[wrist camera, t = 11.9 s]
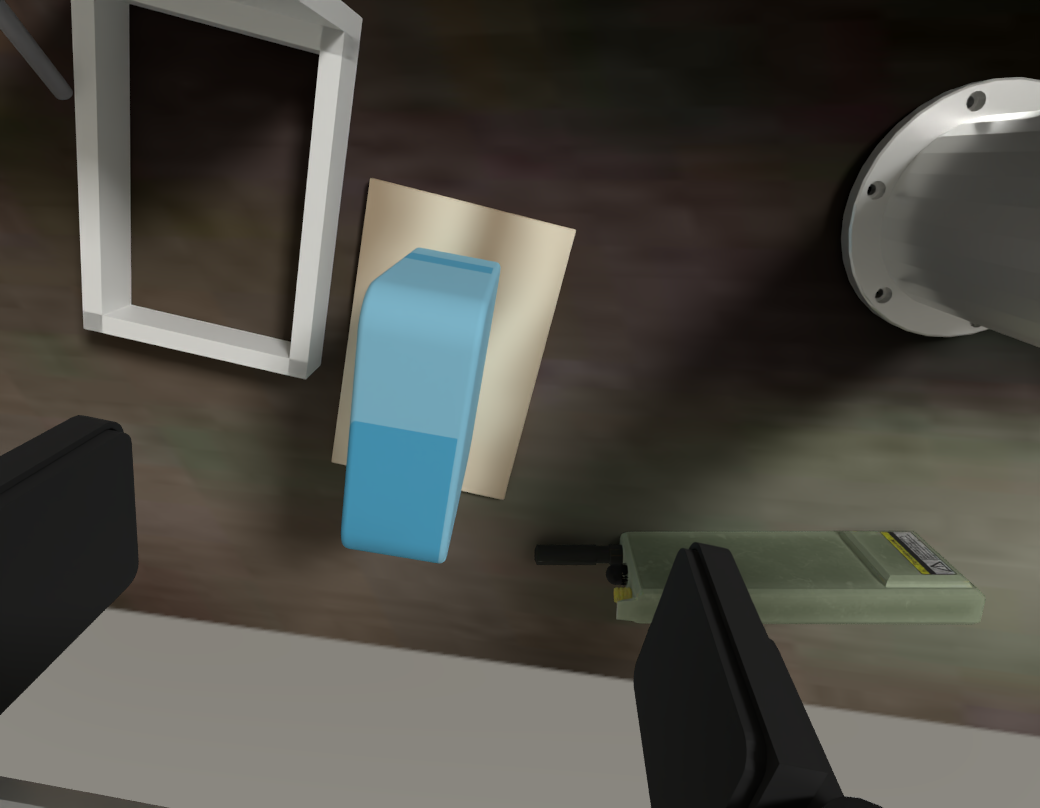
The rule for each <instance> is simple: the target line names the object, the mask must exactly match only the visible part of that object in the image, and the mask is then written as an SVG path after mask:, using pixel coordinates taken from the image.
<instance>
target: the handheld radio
mask: <svg viewBox="0 0 1040 808" xmlns="http://www.w3.org/2000/svg"><path fill="white" fill-rule="evenodd" d="M694 542H699V543H704V544H709V545H713V546H718V547H723V548H727V549H729V550H730V552H731V553H732V555H733V558H734V560H735V562H736V565H737V567H738V569H739V571H740V574H741V576H742V578H743V581H744V583H745V585H746V587H747V590H748V592H749V594H750V596H751V599H752V601H753V603H754V606H755V608H756V610H757V612H758V615H759V617H760V619H761V622H762V624H975V623H979V622H980V620H981V616H982V612H983V608H984V604H985V600H986V599H985V596H984V595H983V594H982V593H981V592H980V591H979V590H978V589H977V588H976V587H975V586H974V585H973V584H972V583H971V582H970V581H968V580H967V579H966V578H965V577H964V576H963V575H962V574H961V573H960V572H958V571H957V570H956V569H955V568H954V567H953V566H952V565H951V564H950V563H949V562H947V561H946V560H945V559H944V558H943V557H942V556H941V555H940V554H939V553H938V552H936V551H935V550H934V549H933V548H932V547H931V546H930V545H929V544H928V543H926V542H925V541H924V540H923V539H922V538H921V537H920V536H919V535H918V534H917V533H915V532H914V531H778V532H625V533H623V534H622V535H621V537H620V544H609V546H596V545H536V548H535V561H536V564H537V565H596V563H609V564H610V566H609V567H608V568H607V571H606V577H607V579H608V581H609V582H610V583H611V584H615V585H626V587H624V588H622V587H620V588H618V587H616V588H614V602H616V603H617V611H616V619H618V620H627V621H634V622H636V623H651V622H652V619H653V617H654V614H655V611H656V609H657V606H658V603H659V601H660V598H661V595H662V593H663V590H664V587H665V584H666V582H667V579H668V576H669V574H670V571H671V568H672V566H673V563H674V560H675V558H676V555H677V553H678V551H679V550H680V549H681V548H686V549H689V547H690V546H691V544H692V543H694ZM622 573H623V574H622ZM622 575H623V576H622ZM622 578H624V579H622ZM622 582H623V583H622ZM624 582H625V583H624Z"/></svg>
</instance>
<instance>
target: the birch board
mask: <svg viewBox="0 0 1040 808" xmlns="http://www.w3.org/2000/svg"><path fill="white" fill-rule="evenodd" d="M575 232H576V230H575V229H571V228H567V227H563V226H559V225H555V224H551V223H547V222H543V221H539V220H535V219H531V218H528V217H524V216H520V215H516V214H512V213H508V212H504V211H500V210H496V209H492V208H488V207H484V206H480V205H476V204H473V203H469V202H465V201H461V200H457V199H453V198H449V197H445V196H441V195H437V194H433V193H429V192H425V191H421V190H418V189H414V188H410V187H406V186H402V185H398V184H394V183H390V182H386V181H382V180H378V179H374V178H370V183H369V191H368V198H367V205H366V213H365V220H364V227H363V235H362V242H361V249H360V256H359V264H358V271H357V278H356V286H355V293H354V300H353V308H352V315H351V322H350V330H349V337H348V344H347V352H346V359H345V366H344V374H343V381H342V388H341V396H340V403H339V410H338V418H337V425H336V432H335V440H334V447H333V454H332V462H333V463H338V464H342V465H346V464H347V452H348V440H349V428H350V416H351V404H352V392H353V380H354V368H355V356H356V344H357V332H358V323H359V316H360V311H361V307H362V303H363V299H364V296H365V293H366V291H367V289H368V287H369V285H370V284H371V282H372V281H373V280H375V279H376V278H377V277H379V276H380V275H381V274H383V273H384V272H385V271H387V270H388V269H389V268H391V267H392V266H393V265H395V264H396V263H397V262H399V261H400V260H401V259H403V258H404V257H405V256H407V255H408V254H409V253H411V252H412V251H413V250H414V249H416V248H425V249H430V250H436V251H441V252H446V253H451V254H457V255H462V256H467V257H472V258H478V259H483V260H488V261H493V262H497V263H499V264H500V267H501V269H500V276H499V283H498V289H497V295H496V300H495V306H494V312H493V318H492V324H491V330H490V336H489V342H488V347H487V353H486V359H485V365H484V371H483V377H482V383H481V389H480V394H479V400H478V406H477V412H476V418H475V424H474V430H473V436H472V441H471V447H470V452H469V457H468V462H467V467H466V471H465V476H464V480H463V485H462V489H461V491H465V492H470V493H474V494H479V495H483V496H488V497H492V498H497V499H501V500H504V497H505V493H506V489H507V486H508V482H509V478H510V474H511V471H512V467H513V463H514V459H515V456H516V452H517V448H518V445H519V441H520V437H521V433H522V430H523V426H524V422H525V418H526V415H527V411H528V407H529V403H530V400H531V396H532V392H533V389H534V385H535V381H536V377H537V374H538V370H539V366H540V362H541V359H542V355H543V351H544V348H545V344H546V340H547V336H548V333H549V329H550V325H551V321H552V318H553V314H554V310H555V307H556V303H557V299H558V295H559V292H560V288H561V284H562V280H563V277H564V273H565V269H566V265H567V262H568V258H569V254H570V251H571V247H572V243H573V239H574V236H575Z"/></svg>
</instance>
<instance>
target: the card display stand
mask: <svg viewBox="0 0 1040 808" xmlns="http://www.w3.org/2000/svg"><path fill="white" fill-rule="evenodd" d="M129 4H132V5H136V6H139V7H143V8H147V9H151V10H154V11H158V12H162V13H165V14H169V15H173V16H177V17H180V18H184V19H188V20H192V21H195V22H199V23H203V24H207V25H210V26H214V27H218V28H222V29H225V30H229V31H233V32H237V33H240V34H244V35H248V36H252V37H255V38H259V39H263V40H266V41H270V42H274V43H278V44H281V45H285V46H289V47H293V48H296V49H300V50H304V51H308V52H311V53H315V54H319V65H318V75H317V85H316V95H315V105H314V115H313V125H312V136H311V146H310V156H309V166H308V176H307V186H306V196H305V206H304V216H303V227H302V237H301V247H300V257H299V267H298V277H297V287H296V297H295V307H294V318H293V328H292V338H291V342H289V341H285V340H281V339H276V338H272V337H268V336H264V335H259V334H255V333H251V332H246V331H242V330H238V329H233V328H229V327H225V326H221V325H216V324H212V323H208V322H203V321H199V320H195V319H191V318H186V317H182V316H178V315H173V314H169V313H165V312H161V311H156V310H152V309H148V308H143V307H139V306H135V305H131V195H130V51H129ZM71 14H72V40H73V66H74V92H75V118H76V144H77V170H78V196H79V222H80V248H81V274H82V300H83V326H84V329H88V330H92V331H96V332H101V333H105V334H110V335H114V336H118V337H123V338H127V339H131V340H136V341H140V342H144V343H149V344H153V345H158V346H162V347H166V348H171V349H175V350H179V351H184V352H188V353H193V354H197V355H201V356H206V357H210V358H214V359H219V360H223V361H227V362H232V363H236V364H241V365H245V366H249V367H254V368H258V369H262V370H267V371H271V372H276V373H280V374H284V375H289V376H293V377H297V378H302V379H307V378H308V377H309V376H310V375H311V374H312V373H313V372H314V371H315V370H316V369H317V368H318V367H319V366H320V365H321V359H322V351H323V343H324V334H325V326H326V318H327V309H328V301H329V293H330V284H331V276H332V268H333V260H334V251H335V243H336V235H337V226H338V218H339V210H340V201H341V193H342V185H343V177H344V168H345V160H346V152H347V143H348V135H349V127H350V118H351V110H352V102H353V94H354V85H355V77H356V69H357V60H358V52H359V44H360V35H361V27H362V19H363V18H361V17H360V16H359V15H358V14H357V13H355V12H354V11H353V10H352V9H351V8H349V7H348V6H347V5H346V4H344V3H343V2H342V1H341V0H71ZM0 29H1V30H2V31H3V33H4V34H5V35H6V36H7V38H8V39H9V40H10V41H11V43H12V44H13V45H14V46H15V48H16V49H17V50H18V51H19V53H20V54H21V55H22V56H23V57H24V59H25V60H26V61H27V62H28V64H29V65H30V66H31V67H32V69H33V70H34V71H35V72H36V74H37V75H38V76H39V77H40V79H41V80H42V81H43V82H44V83H45V85H46V86H47V87H48V88H49V90H50V91H51V92H52V93H53V95H54V96H55V97H56V98H57V99H59V100H67V99H69V98H70V97H71V96H72V95H73V90H72V89H71V87H70V86H69V85H68V83H67V82H66V81H65V79H64V78H63V77H62V75H61V74H60V73H59V71H58V70H57V69H56V68H55V66H54V65H53V64H52V62H51V61H50V60H49V58H48V57H47V56H46V54H45V53H44V52H43V50H42V49H41V48H40V47H39V45H38V44H37V43H36V41H35V40H34V39H33V37H32V36H31V35H30V33H29V32H28V31H27V29H26V28H25V27H24V25H23V24H22V23H21V22H20V20H19V19H18V18H17V16H16V15H15V14H14V12H13V11H12V10H11V8H10V7H9V6H8V4H7V3H6V2H5V0H0Z"/></svg>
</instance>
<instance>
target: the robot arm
mask: <svg viewBox="0 0 1040 808" xmlns="http://www.w3.org/2000/svg"><path fill="white" fill-rule="evenodd" d="M967 99H968V105H966V103H967ZM870 185H871V187H872V189H871V192H870V193H869V194H867V191H868V188H869V186H870ZM841 246H842V257H843V263H844V266H845V270H846V273H847V276H848V279H849V282H850V284H851V285H852V287H853V289H854V290H855V292H856V294H857V296H858V297H859V299H860V300H861V301H862V302H863V303H864V304H865V305H866V306H867V307H868V308H869V309H870V310H871V311H872V312H873V313H874V314H876V315H877V316H879V317H880V318H882V319H883V320H885V321H886V322H888V323H890V324H892V325H894V326H897V327H899V328H901V329H903V330H906V331H909V332H913V333H917V334H921V335H925V336H935V337H954V336H962V335H970V334H974V333H977V332H981V331H984V330H988V329H991V330H994V331H997V332H999V333H1002V334H1005V335H1007V336H1010V337H1013V338H1015V339H1018V340H1021V341H1023V342H1026V343H1029V344H1031V345H1034V346H1037V347H1040V80H1035V79H1029V78H1023V77H1015V78H997V79H990V80H985V81H980V82H975V83H970V84H967V85H964V86H961V87H958V88H956V89H953V90H950V91H947V92H944V93H942V94H941V95H939V96H937V97H935V98H933V99H932V100H930V101H928V102H926V103H924V104H923V105H921V106H919V107H918V108H917V109H915V110H914V111H913V112H911V113H910V114H909V115H908V116H906V117H905V118H904V119H903V120H901V121H900V122H899V123H897V124H896V125H895V126H894V128H893V129H892V130H891V131H890V132H889V133H888V134H887V135H886V136H885V137H884V138H883V139H882V140H881V141H880V142H879V144H878V145H877V146H876V147H875V149H874V150H873V152H872V153H871V155H870V156H869V158H868V159H867V161H866V162H865V164H864V165H863V166H862V168H861V170H860V172H859V174H858V176H857V178H856V181H855V183H854V185H853V187H852V189H851V191H850V194H849V198H848V201H847V205H846V208H845V212H844V215H843V224H842V233H841ZM878 290H879V293H878V294H877V295H876V292H877V291H878ZM875 295H876V296H875ZM138 562H139V561H138V544H137V527H136V509H135V492H134V475H133V458H132V442H131V438H130V436H129V435H128V434H126V433H124V432H123V429H122V427H121V425H120V424H118V423H117V422H113V421H108V420H103V419H98V418H93V417H88V416H82V415H78V416H75V417H72V418H70V419H68V420H66V421H65V422H63V423H61V424H59V425H57V426H55V427H53V428H52V429H50V430H48V431H46V432H44V433H42V434H41V435H39V436H37V437H35V438H33V439H31V440H29V441H28V442H26V443H24V444H22V445H20V446H18V447H16V448H15V449H13V450H11V451H9V452H7V453H5V454H3V455H2V456H0V715H1V714H2V713H3V712H4V711H5V709H7V707H9V706H10V705H11V703H12V702H14V701H15V700H16V699H17V698H18V697H19V695H20V694H22V693H23V692H24V691H25V690H26V689H27V688H28V686H30V685H31V684H32V683H33V682H34V681H35V679H36V678H38V676H40V674H41V673H42V672H44V671H45V670H46V669H47V667H49V665H50V664H51V663H52V662H53V661H54V660H55V659H56V658H57V657H58V656H59V655H60V654H61V653H62V652H63V651H64V650H65V649H66V648H67V647H68V646H69V645H70V644H71V643H72V642H73V641H74V640H75V639H76V638H77V637H78V636H79V635H80V634H81V633H82V632H83V631H84V630H85V629H86V628H87V627H88V626H89V625H90V624H91V623H92V622H93V621H94V620H95V619H96V618H97V617H98V616H99V615H100V614H101V613H102V612H103V611H104V610H105V609H106V608H107V607H108V606H109V605H110V604H111V603H112V602H113V601H114V600H115V599H116V598H117V597H118V596H119V595H120V594H121V593H122V592H123V591H124V590H125V589H126V588H127V587H128V586H129V585H130V584H131V582H132V581H133V579H134V577H135V575H136V573H137V569H138ZM634 691H635V698H636V705H637V712H638V718H639V726H640V733H641V740H642V747H643V753H644V760H645V767H646V774H647V781H648V788H649V795H650V802H651V808H883V807H881V806H879V805H877V804H874V803H871V802H869V801H867V800H864V799H861V798H855V797H846V796H844V795H843V793H842V791H841V789H840V786H839V784H838V782H837V779H836V777H835V775H834V773H833V771H832V768H831V766H830V764H829V762H828V759H827V758H826V755H825V753H824V750H823V748H822V746H821V744H820V741H819V739H818V737H817V735H816V733H815V730H814V728H813V726H812V724H811V721H810V719H809V717H808V715H807V713H806V710H805V708H804V706H803V704H802V701H801V699H800V697H799V695H798V692H797V690H796V688H795V686H794V683H793V681H792V679H791V677H790V674H789V672H788V670H787V668H786V666H785V663H784V661H783V659H782V657H781V654H780V652H779V650H778V648H777V646H776V645H775V643H774V642H773V641H772V640H771V639H770V638H768V635H767V633H766V631H765V628H764V626H763V624H762V622H761V619H760V617H759V615H758V612H757V610H756V608H755V606H754V603H753V601H752V599H751V596H750V594H749V592H748V590H747V587H746V585H745V583H744V581H743V578H742V576H741V574H740V571H739V569H738V567H737V565H736V562H735V560H734V558H733V555H732V553H731V552H730V550H729V549H727V548H723V547H718V546H713V545H709V544H704V543H699V542H694V543H692V544H691V546H690V547H689V549H686V548H681V549H680V550H679V551H678V553H677V555H676V558H675V560H674V563H673V566H672V568H671V571H670V574H669V576H668V579H667V582H666V584H665V587H664V590H663V593H662V595H661V598H660V601H659V603H658V606H657V609H656V611H655V614H654V617H653V619H652V622H651V625H650V627H649V630H648V633H647V635H646V638H645V641H644V643H643V646H642V649H641V651H640V654H639V657H638V659H637V662H636V666H635V670H634ZM0 808H167V807H162V806H157V805H151V804H146V803H141V802H136V801H130V800H125V799H120V798H114V797H109V796H104V795H98V794H93V793H88V792H82V791H77V790H72V789H66V788H61V787H56V786H50V785H45V784H39V783H34V782H28V781H22V780H17V779H12V778H7V777H1V776H0Z"/></svg>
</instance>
